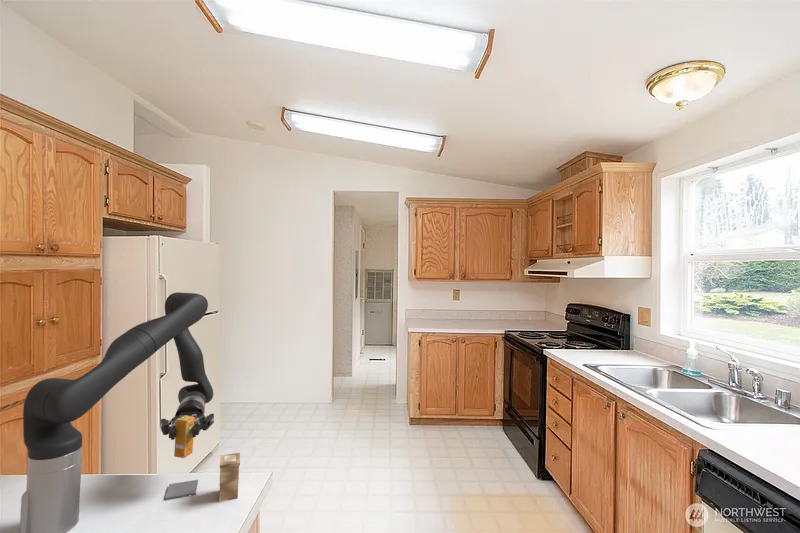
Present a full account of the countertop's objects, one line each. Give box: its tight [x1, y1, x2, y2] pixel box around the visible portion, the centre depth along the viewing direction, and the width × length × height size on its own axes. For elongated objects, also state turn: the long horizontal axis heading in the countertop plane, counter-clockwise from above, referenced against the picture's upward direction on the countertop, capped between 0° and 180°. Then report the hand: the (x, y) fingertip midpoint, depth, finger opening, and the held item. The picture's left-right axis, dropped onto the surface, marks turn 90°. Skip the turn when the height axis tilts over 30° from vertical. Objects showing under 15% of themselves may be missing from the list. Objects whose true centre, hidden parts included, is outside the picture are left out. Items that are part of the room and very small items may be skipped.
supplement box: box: [173, 415, 195, 459], centre depth 104 cm, size 3×3×10 cm
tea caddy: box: [218, 452, 241, 502], centre depth 103 cm, size 5×6×9 cm
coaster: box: [164, 479, 199, 501], centre depth 104 cm, size 7×7×1 cm
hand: (183, 434), depth 102 cm, fingers closed on supplement box, 4 cm apart
